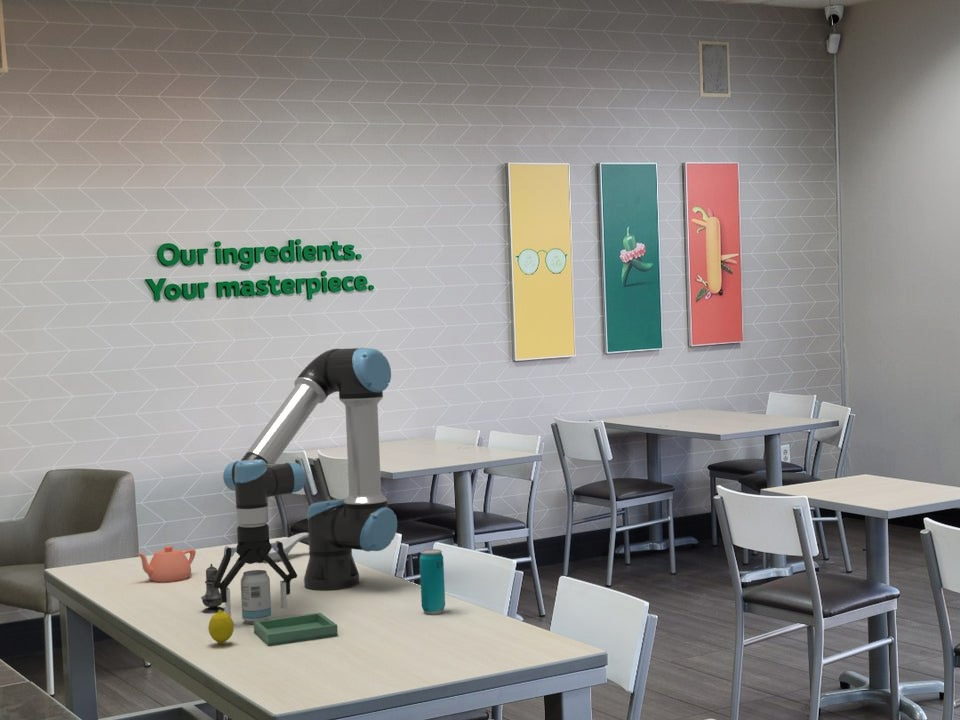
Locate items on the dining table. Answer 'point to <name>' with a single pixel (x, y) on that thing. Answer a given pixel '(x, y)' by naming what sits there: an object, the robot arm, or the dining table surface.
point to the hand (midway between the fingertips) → (256, 612)
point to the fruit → (221, 627)
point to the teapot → (168, 564)
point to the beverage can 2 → (432, 581)
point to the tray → (295, 629)
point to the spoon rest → (287, 545)
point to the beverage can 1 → (255, 596)
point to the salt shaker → (211, 593)
